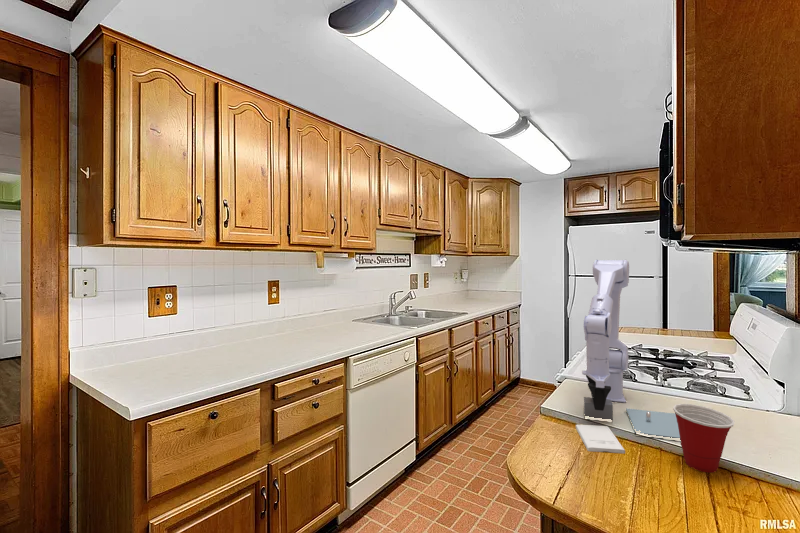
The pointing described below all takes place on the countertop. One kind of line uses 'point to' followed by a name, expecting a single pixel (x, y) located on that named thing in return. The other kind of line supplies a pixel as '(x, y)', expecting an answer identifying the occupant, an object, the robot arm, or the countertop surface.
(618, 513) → the countertop surface
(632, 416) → the tray
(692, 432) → the plastic cup
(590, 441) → the external hard drive
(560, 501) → the countertop surface
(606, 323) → the robot arm
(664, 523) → the countertop surface
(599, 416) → the gray rectangular block
